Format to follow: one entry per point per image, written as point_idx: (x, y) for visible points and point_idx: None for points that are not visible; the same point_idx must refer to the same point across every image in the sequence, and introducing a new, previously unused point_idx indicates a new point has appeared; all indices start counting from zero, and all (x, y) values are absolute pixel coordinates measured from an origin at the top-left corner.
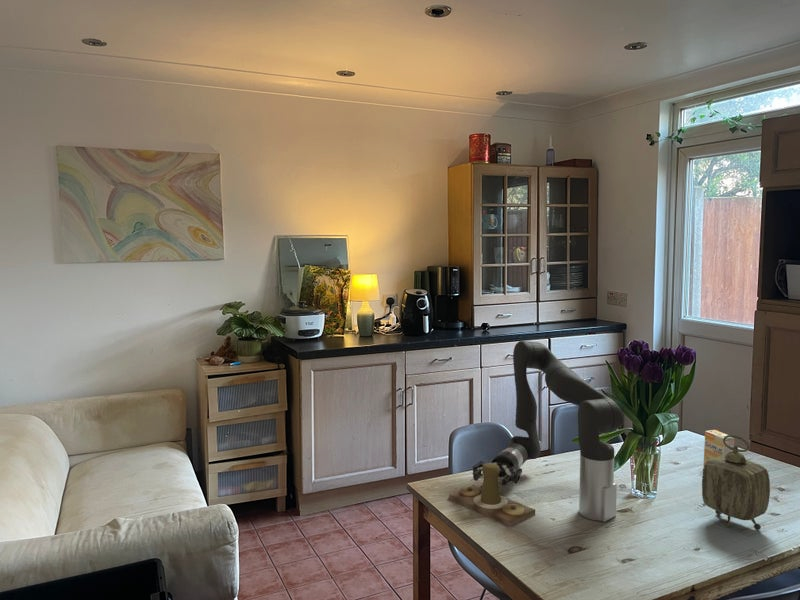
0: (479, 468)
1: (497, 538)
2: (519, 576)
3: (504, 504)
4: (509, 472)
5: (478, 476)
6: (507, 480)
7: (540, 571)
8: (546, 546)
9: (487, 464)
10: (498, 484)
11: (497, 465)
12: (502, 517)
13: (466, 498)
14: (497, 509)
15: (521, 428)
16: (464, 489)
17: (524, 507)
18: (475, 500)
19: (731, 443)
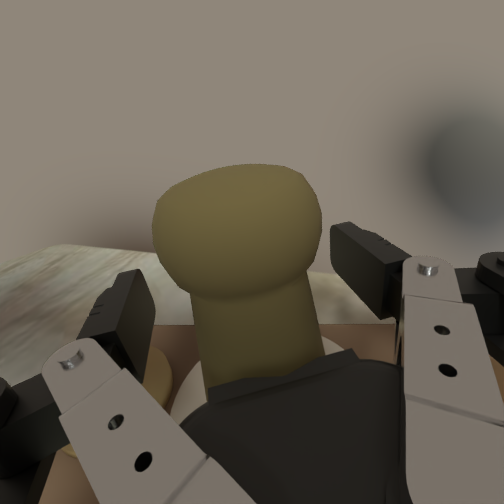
0: (418, 261)
1: (149, 282)
2: (87, 246)
3: (178, 416)
4: (67, 404)
5: (352, 271)
6: (97, 305)
7: (47, 267)
8: (10, 326)
9: (252, 164)
10: (197, 340)
11: (167, 199)
12: (153, 326)
13: (387, 346)
14: (196, 360)
15: None
16: (500, 387)
17: (48, 493)
18: (328, 347)
19: None
